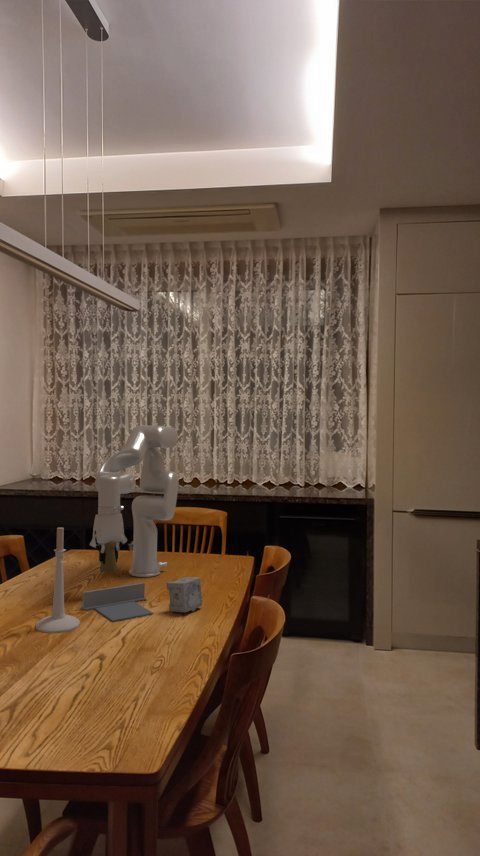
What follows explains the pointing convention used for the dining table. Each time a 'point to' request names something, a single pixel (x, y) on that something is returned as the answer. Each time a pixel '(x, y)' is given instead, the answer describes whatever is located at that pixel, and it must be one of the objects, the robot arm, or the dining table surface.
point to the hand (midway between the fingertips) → (108, 561)
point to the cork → (109, 558)
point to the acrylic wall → (113, 596)
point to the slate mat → (123, 611)
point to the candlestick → (58, 598)
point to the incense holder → (185, 594)
